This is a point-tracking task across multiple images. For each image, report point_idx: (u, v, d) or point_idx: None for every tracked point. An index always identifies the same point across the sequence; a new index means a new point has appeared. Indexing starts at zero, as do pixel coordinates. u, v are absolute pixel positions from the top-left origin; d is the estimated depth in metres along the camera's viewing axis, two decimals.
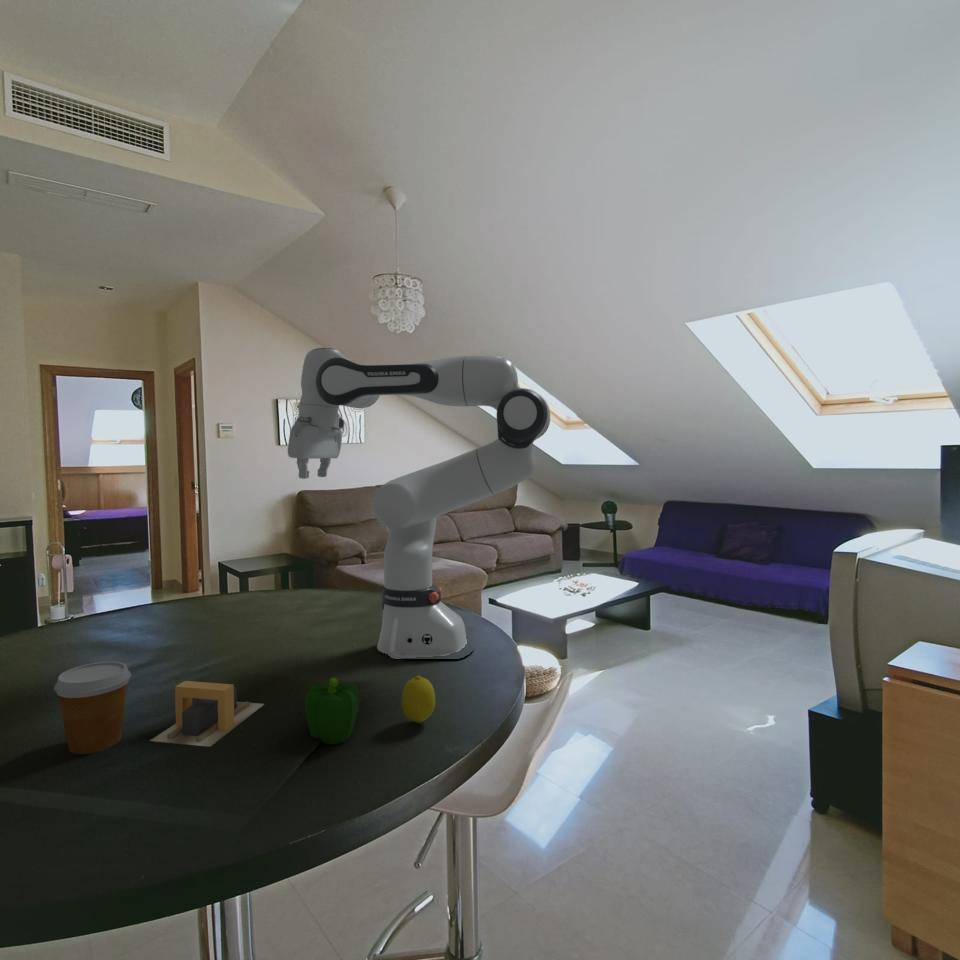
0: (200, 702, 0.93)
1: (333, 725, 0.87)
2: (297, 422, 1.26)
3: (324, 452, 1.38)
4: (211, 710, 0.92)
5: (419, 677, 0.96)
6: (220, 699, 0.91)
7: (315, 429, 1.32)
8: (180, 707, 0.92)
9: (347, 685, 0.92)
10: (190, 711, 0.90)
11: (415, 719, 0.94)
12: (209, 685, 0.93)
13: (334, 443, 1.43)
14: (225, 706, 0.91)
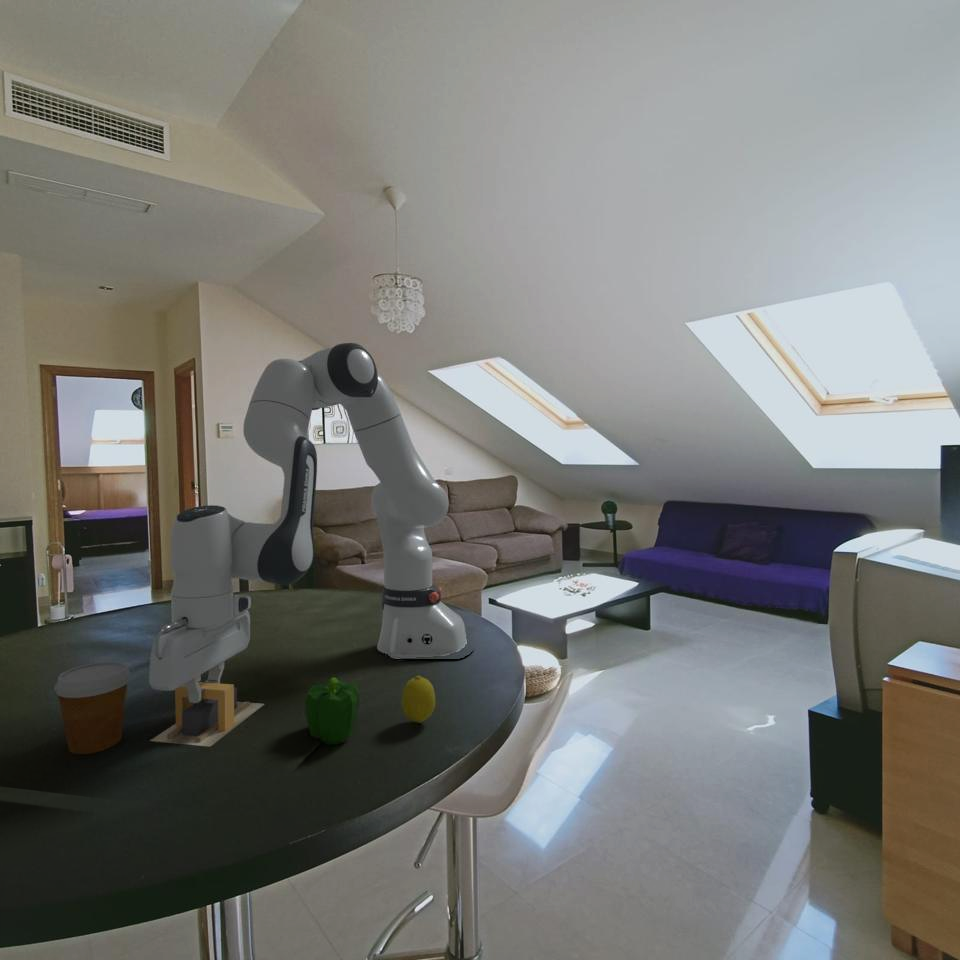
0: (200, 702, 0.93)
1: (333, 725, 0.87)
2: (158, 639, 0.82)
3: (219, 656, 0.93)
4: (211, 710, 0.92)
5: (419, 677, 0.96)
6: (220, 699, 0.91)
7: (195, 633, 0.88)
8: (180, 707, 0.92)
9: (347, 685, 0.92)
10: (190, 711, 0.90)
11: (415, 719, 0.94)
12: (209, 685, 0.93)
13: (237, 632, 0.98)
14: (225, 706, 0.91)
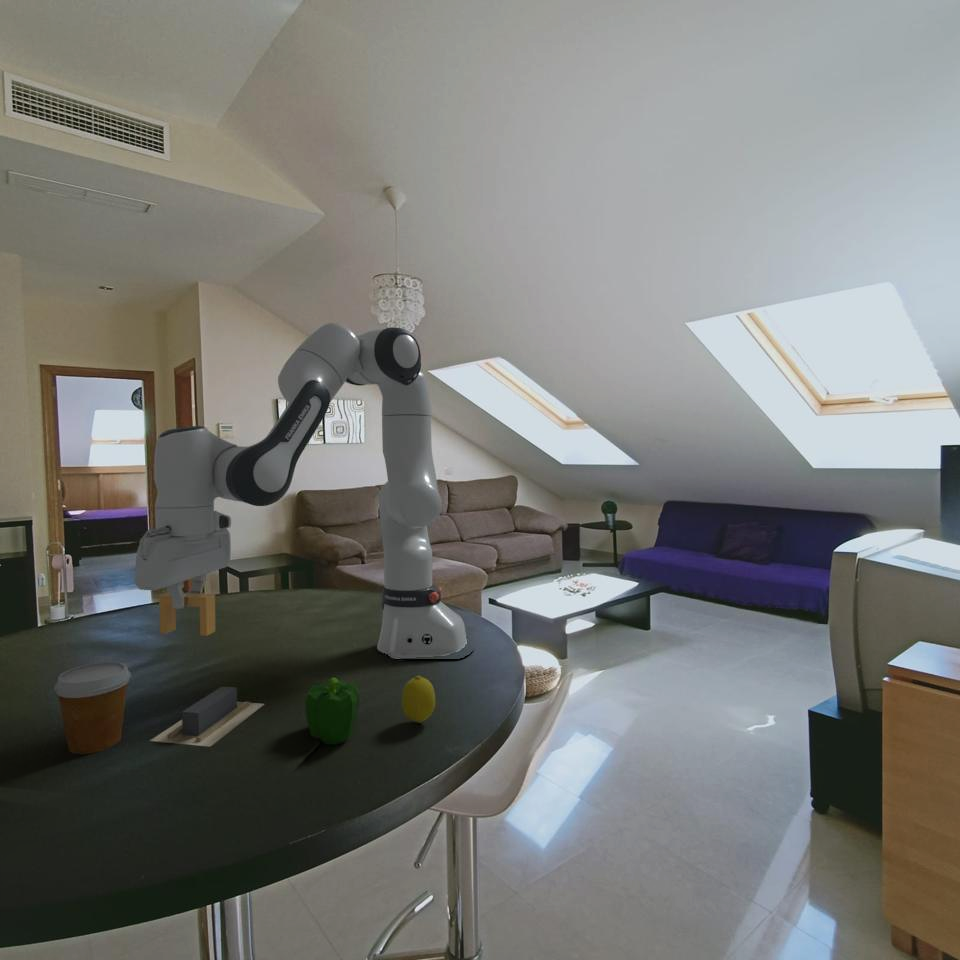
0: (200, 702, 0.93)
1: (333, 725, 0.87)
2: (143, 541, 0.88)
3: (200, 568, 0.99)
4: (211, 710, 0.92)
5: (419, 677, 0.96)
6: (202, 606, 0.97)
7: (178, 541, 0.94)
8: (164, 615, 0.98)
9: (347, 685, 0.92)
10: (190, 711, 0.90)
11: (415, 719, 0.94)
12: (191, 594, 0.99)
13: (218, 549, 1.04)
14: (207, 612, 0.97)
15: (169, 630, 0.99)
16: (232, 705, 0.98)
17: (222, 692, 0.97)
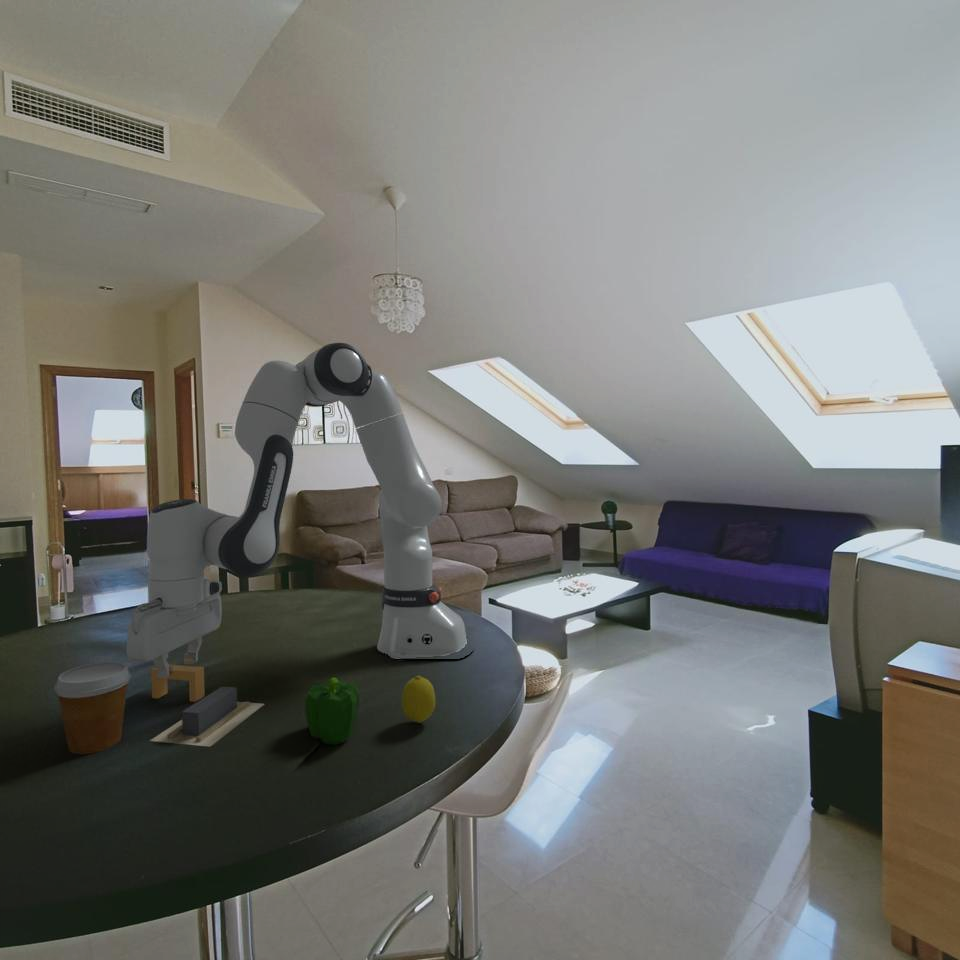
0: (200, 702, 0.93)
1: (333, 725, 0.87)
2: (134, 616, 0.93)
3: (191, 634, 1.04)
4: (211, 710, 0.92)
5: (419, 677, 0.96)
6: (191, 680, 1.02)
7: (169, 613, 0.99)
8: (156, 687, 1.03)
9: (347, 685, 0.92)
10: (190, 711, 0.90)
11: (415, 719, 0.94)
12: (182, 667, 1.04)
13: (209, 613, 1.09)
14: (196, 686, 1.02)
15: None
16: (232, 705, 0.98)
17: (222, 692, 0.97)
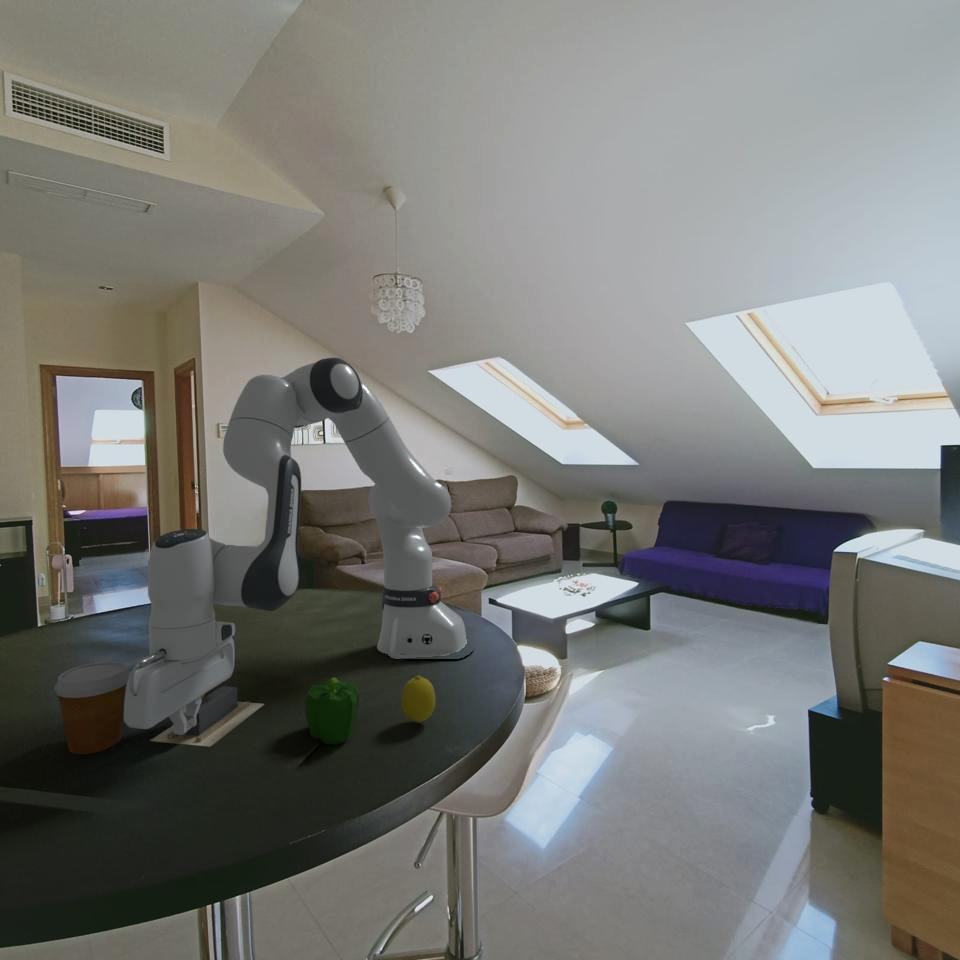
0: (201, 702, 0.93)
1: (333, 725, 0.87)
2: (133, 675, 0.77)
3: (200, 688, 0.89)
4: (212, 709, 0.93)
5: (419, 677, 0.96)
6: None
7: (174, 666, 0.83)
8: None
9: (347, 685, 0.92)
10: None
11: (415, 719, 0.94)
12: None
13: (220, 661, 0.94)
14: None
15: None
16: (233, 705, 0.98)
17: (223, 691, 0.97)
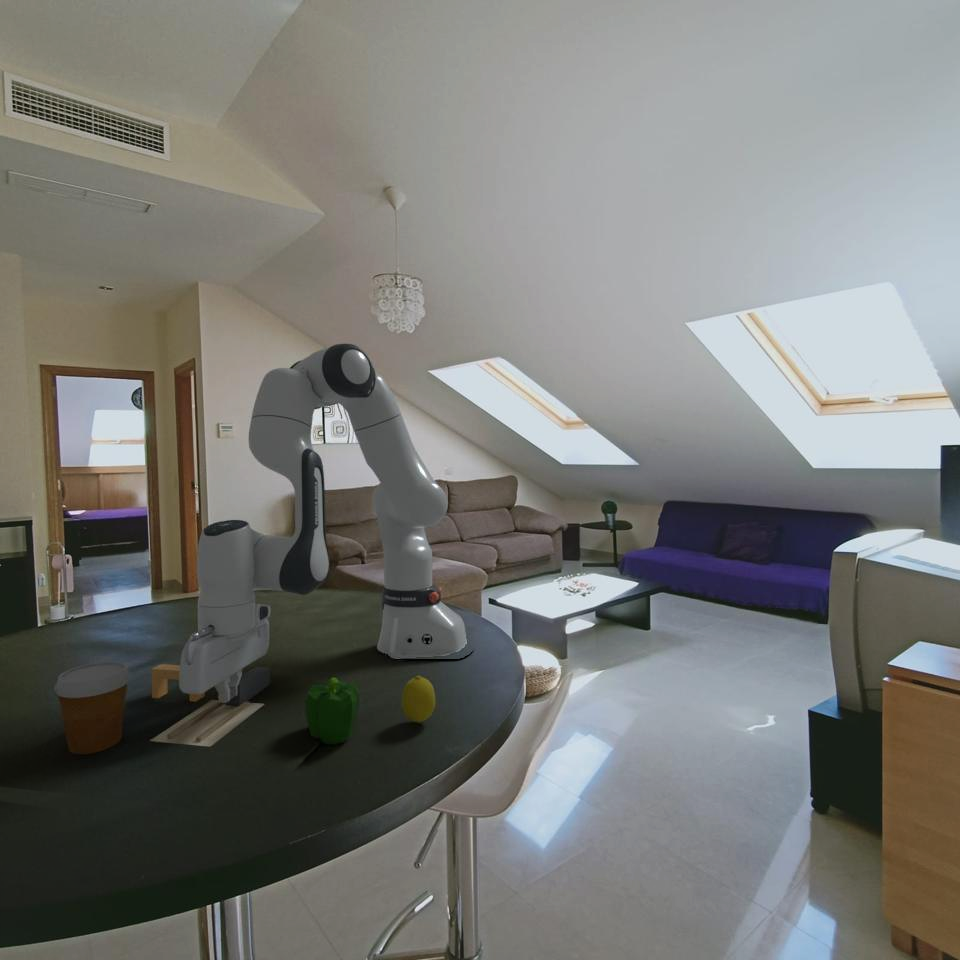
0: None
1: (333, 725, 0.87)
2: (188, 646, 0.88)
3: (241, 662, 0.99)
4: (250, 684, 1.03)
5: (419, 677, 0.96)
6: None
7: (221, 641, 0.94)
8: (156, 687, 1.03)
9: (347, 685, 0.92)
10: None
11: (415, 719, 0.94)
12: None
13: (257, 639, 1.04)
14: None
15: None
16: (266, 683, 1.08)
17: (258, 670, 1.08)
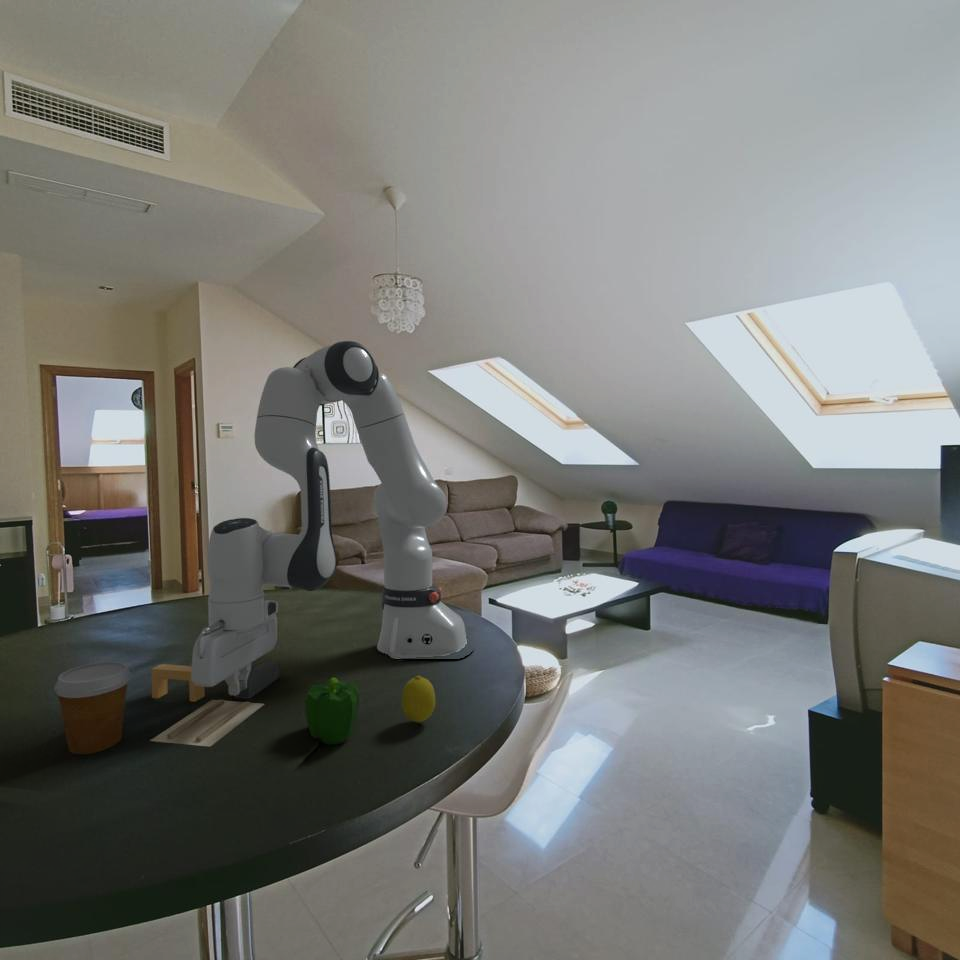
0: None
1: (333, 725, 0.87)
2: (199, 640, 0.91)
3: (250, 656, 1.02)
4: (259, 680, 1.06)
5: (419, 677, 0.96)
6: None
7: (231, 635, 0.97)
8: (156, 687, 1.03)
9: (347, 685, 0.92)
10: None
11: (415, 719, 0.94)
12: (182, 667, 1.04)
13: (266, 634, 1.07)
14: (196, 686, 1.02)
15: None
16: (274, 677, 1.12)
17: (266, 665, 1.11)
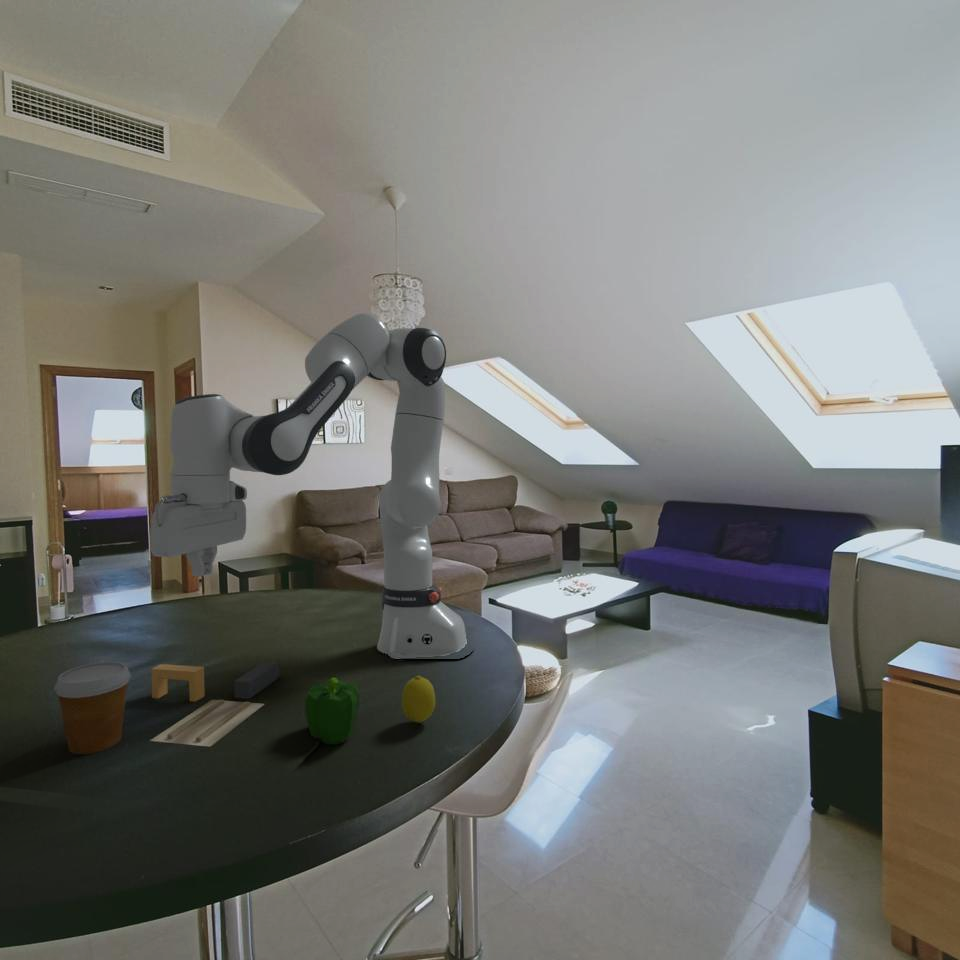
0: (248, 673, 1.07)
1: (333, 725, 0.87)
2: (158, 506, 0.87)
3: (216, 538, 0.98)
4: (259, 680, 1.06)
5: (419, 677, 0.96)
6: (191, 680, 1.02)
7: (194, 509, 0.92)
8: (156, 687, 1.03)
9: (347, 685, 0.92)
10: (241, 680, 1.03)
11: (415, 719, 0.94)
12: (182, 667, 1.04)
13: (233, 520, 1.03)
14: (196, 686, 1.02)
15: None
16: (274, 677, 1.12)
17: (266, 665, 1.11)
